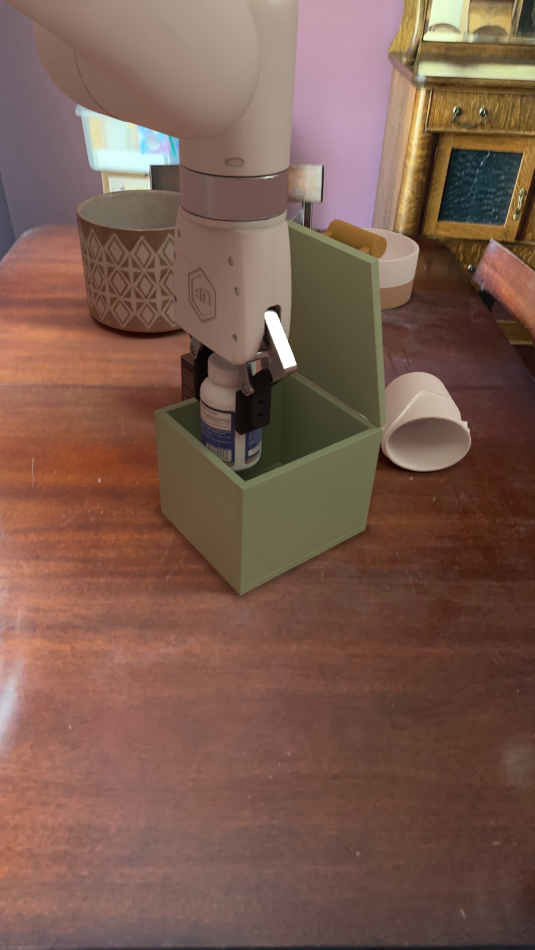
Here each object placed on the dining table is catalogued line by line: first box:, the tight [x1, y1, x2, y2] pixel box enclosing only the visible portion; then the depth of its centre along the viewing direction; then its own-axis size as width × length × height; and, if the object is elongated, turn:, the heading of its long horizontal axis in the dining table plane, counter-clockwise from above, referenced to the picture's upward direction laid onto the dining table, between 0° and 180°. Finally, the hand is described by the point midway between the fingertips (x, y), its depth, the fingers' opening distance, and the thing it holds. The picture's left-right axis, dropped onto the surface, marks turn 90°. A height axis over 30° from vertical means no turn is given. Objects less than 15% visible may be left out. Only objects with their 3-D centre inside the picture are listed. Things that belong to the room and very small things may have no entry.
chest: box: [153, 372, 383, 596], centre depth 65 cm, size 16×14×12 cm
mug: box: [357, 371, 472, 472], centre depth 78 cm, size 12×9×8 cm
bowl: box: [323, 226, 420, 311], centre depth 116 cm, size 17×17×8 cm
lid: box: [284, 217, 387, 427], centre depth 60 cm, size 16×14×6 cm
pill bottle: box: [200, 352, 262, 471], centre depth 58 cm, size 5×5×10 cm
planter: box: [75, 189, 183, 333], centre depth 102 cm, size 19×19×16 cm
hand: (231, 410), depth 58 cm, fingers closed on pill bottle, 5 cm apart
